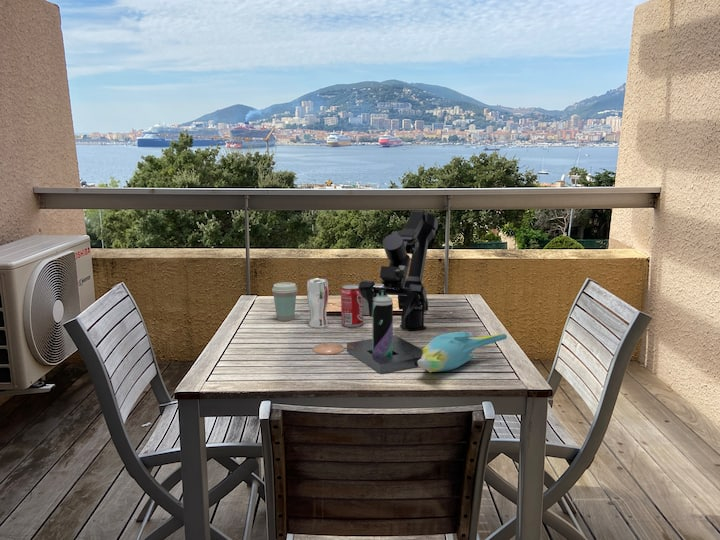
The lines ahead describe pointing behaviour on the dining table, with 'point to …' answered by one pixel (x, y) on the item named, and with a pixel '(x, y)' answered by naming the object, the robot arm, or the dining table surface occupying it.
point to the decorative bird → (452, 350)
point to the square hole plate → (400, 358)
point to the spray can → (382, 325)
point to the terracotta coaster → (328, 348)
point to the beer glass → (317, 301)
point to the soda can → (351, 306)
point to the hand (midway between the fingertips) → (386, 317)
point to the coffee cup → (285, 300)
